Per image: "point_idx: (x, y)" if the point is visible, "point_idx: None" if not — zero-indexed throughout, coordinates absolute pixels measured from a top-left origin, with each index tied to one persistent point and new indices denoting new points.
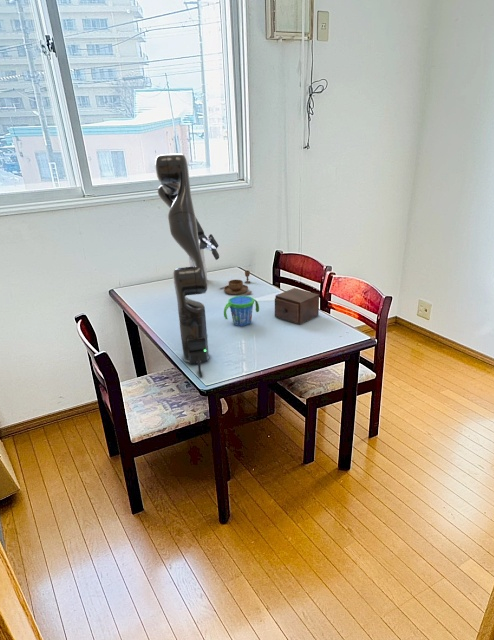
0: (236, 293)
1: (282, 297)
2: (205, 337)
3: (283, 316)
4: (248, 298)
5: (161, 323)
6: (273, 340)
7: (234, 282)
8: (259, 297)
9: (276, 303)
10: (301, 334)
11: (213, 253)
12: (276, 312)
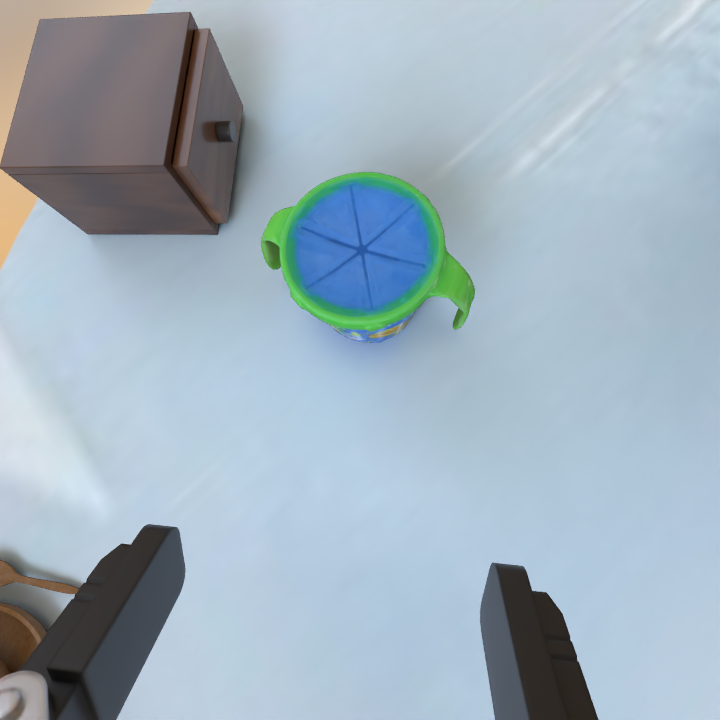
0: (44, 629)
1: (172, 117)
2: None
3: (229, 167)
4: (302, 238)
5: (687, 680)
6: (430, 86)
7: None
8: (25, 479)
9: (201, 170)
10: (314, 50)
11: (124, 670)
12: (221, 200)
